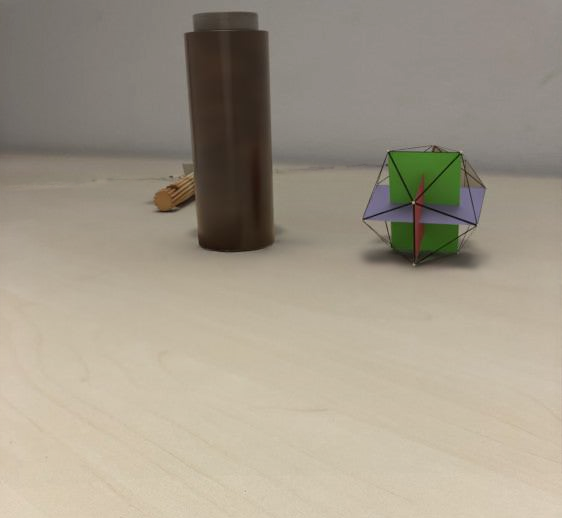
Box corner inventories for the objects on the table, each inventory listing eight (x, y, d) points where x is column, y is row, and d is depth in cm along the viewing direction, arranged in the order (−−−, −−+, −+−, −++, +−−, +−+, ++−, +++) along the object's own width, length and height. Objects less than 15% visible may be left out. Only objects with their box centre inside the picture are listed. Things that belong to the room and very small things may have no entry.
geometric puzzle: (472, 243, 37) (491, 108, 38) (345, 236, 39) (369, 109, 41) (475, 292, 44) (492, 175, 45) (367, 284, 46) (386, 173, 47)
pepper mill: (205, 254, 45) (188, 10, 40) (193, 237, 50) (177, 17, 44) (283, 247, 47) (277, 10, 41) (264, 232, 51) (257, 16, 46)
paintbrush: (246, 148, 76) (181, 185, 58) (248, 174, 77) (184, 218, 59) (212, 147, 76) (138, 184, 59) (214, 173, 78) (142, 216, 60)
